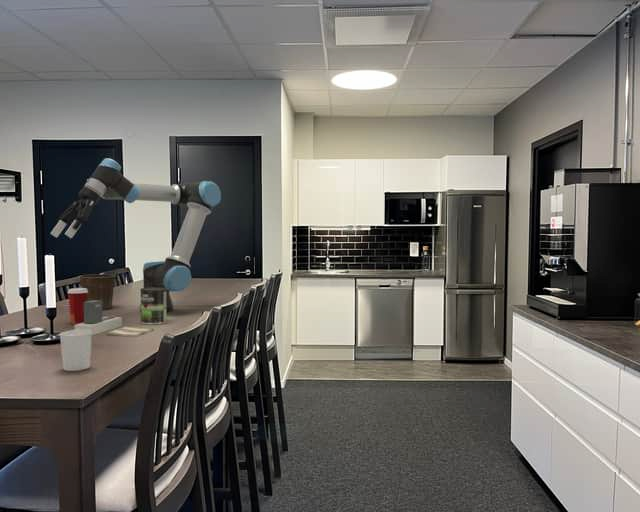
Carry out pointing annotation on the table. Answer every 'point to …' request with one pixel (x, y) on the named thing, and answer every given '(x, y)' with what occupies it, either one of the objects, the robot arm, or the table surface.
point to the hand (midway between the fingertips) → (60, 235)
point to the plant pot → (99, 288)
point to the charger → (92, 312)
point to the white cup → (76, 349)
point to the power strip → (101, 325)
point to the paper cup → (77, 304)
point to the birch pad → (130, 331)
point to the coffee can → (153, 305)
